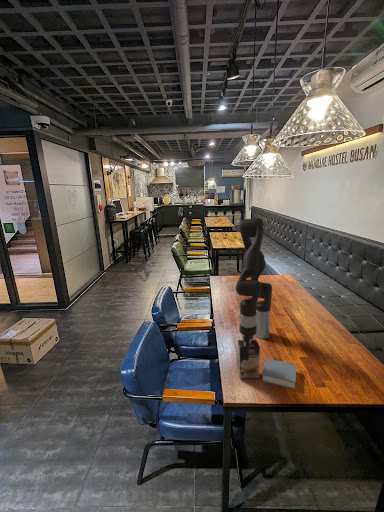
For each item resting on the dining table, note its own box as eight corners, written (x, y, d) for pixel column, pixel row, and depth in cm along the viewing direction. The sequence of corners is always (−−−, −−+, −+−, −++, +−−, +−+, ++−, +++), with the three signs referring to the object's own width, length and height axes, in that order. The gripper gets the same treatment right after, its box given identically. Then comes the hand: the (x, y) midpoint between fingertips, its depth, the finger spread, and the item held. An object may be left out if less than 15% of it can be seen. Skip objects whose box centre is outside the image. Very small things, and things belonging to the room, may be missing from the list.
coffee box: (239, 378, 113) (239, 348, 109) (236, 369, 119) (236, 339, 115) (259, 378, 113) (260, 347, 109) (255, 368, 119) (256, 339, 115)
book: (265, 365, 123) (265, 358, 122) (295, 372, 117) (296, 364, 117) (261, 381, 112) (262, 373, 112) (295, 389, 107) (295, 382, 106)
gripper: (243, 314, 118) (242, 344, 121) (235, 328, 105) (235, 362, 109) (259, 316, 115) (258, 347, 118) (253, 332, 102) (253, 366, 106)
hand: (247, 354), depth 114 cm, fingers closed on coffee box, 8 cm apart
